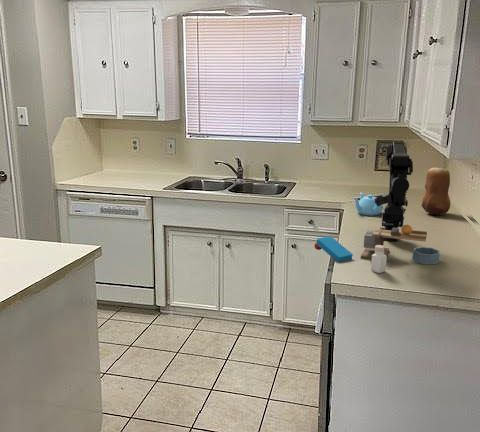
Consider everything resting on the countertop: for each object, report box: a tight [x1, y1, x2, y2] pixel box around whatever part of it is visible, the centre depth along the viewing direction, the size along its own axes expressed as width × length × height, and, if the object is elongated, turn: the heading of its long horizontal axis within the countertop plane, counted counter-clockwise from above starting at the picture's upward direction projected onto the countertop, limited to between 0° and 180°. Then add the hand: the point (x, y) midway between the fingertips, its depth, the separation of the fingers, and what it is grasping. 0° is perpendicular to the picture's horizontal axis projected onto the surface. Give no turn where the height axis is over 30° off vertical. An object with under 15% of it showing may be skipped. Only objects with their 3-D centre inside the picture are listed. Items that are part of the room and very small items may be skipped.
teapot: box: [353, 191, 384, 217], centre depth 259 cm, size 15×15×10 cm
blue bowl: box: [411, 246, 441, 265], centre depth 186 cm, size 10×10×4 cm
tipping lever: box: [363, 227, 428, 249], centre depth 189 cm, size 9×22×7 cm, turn 66°
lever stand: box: [360, 226, 390, 261], centre depth 193 cm, size 14×9×10 cm, turn 156°
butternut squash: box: [421, 167, 451, 216], centre depth 253 cm, size 14×13×25 cm
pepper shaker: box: [370, 245, 388, 274], centre depth 174 cm, size 4×4×10 cm
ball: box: [400, 224, 413, 235], centre depth 187 cm, size 4×4×4 cm
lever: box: [314, 235, 354, 263], centre depth 195 cm, size 7×7×18 cm
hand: (395, 227), depth 188 cm, fingers closed
